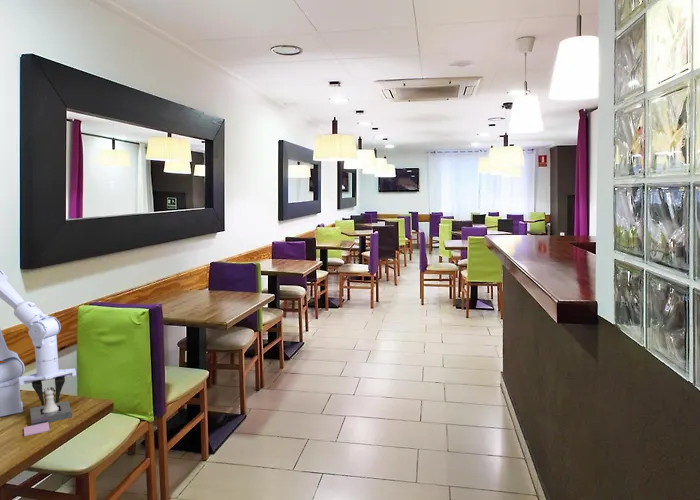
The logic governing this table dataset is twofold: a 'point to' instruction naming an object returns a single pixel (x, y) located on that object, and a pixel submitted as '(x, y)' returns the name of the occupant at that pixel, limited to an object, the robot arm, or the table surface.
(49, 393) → the rook chess piece
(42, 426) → the mat
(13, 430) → the table surface
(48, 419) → the socket block
